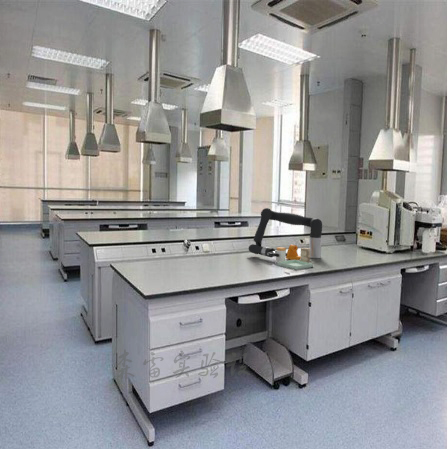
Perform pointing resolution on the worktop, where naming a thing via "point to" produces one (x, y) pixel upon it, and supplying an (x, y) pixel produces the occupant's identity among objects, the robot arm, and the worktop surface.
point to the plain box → (305, 255)
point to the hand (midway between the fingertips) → (282, 255)
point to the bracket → (292, 253)
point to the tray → (295, 264)
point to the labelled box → (281, 254)
